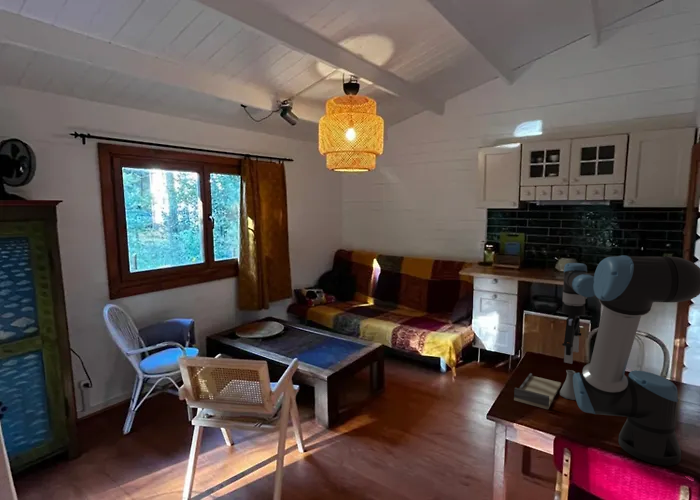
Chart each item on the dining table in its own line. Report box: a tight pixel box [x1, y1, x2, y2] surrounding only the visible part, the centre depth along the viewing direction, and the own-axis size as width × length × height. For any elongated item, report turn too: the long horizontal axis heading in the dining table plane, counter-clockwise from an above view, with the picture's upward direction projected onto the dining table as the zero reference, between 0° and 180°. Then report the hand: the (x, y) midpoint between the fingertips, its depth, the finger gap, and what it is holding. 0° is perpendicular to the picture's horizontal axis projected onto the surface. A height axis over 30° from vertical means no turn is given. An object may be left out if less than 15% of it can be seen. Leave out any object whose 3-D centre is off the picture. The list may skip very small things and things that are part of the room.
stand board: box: [513, 372, 562, 410], centre depth 157 cm, size 24×12×5 cm, turn 142°
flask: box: [559, 369, 576, 401], centre depth 153 cm, size 7×7×10 cm
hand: (571, 357), depth 152 cm, fingers open, 13 cm apart
